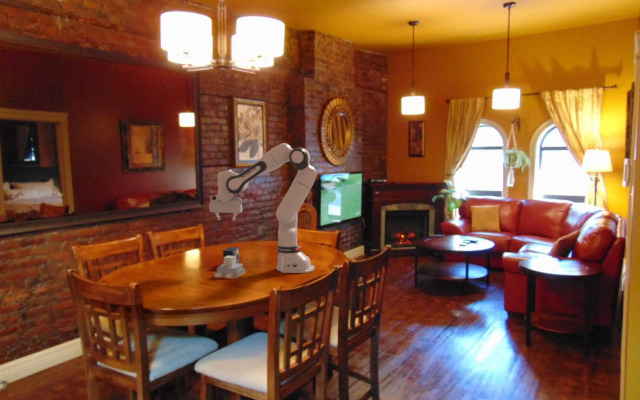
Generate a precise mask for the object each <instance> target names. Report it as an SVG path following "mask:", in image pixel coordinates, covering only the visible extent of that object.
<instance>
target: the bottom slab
mask: <svg viewBox="0 0 640 400" xmlns="http://www.w3.org/2000/svg"><path fill="white" fill-rule="evenodd" d="M245 273H246V268H244V267H243V269H242V270H240V271H239V272H238V273H236V274H228V273H217V271H215V272H214V273H213V277H214V278H222V279H223V278H224V279H237V278H239V277H240V276H242V275H244V274H245Z"/></svg>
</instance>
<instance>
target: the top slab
mask: <svg viewBox="0 0 640 400" xmlns="http://www.w3.org/2000/svg"><path fill="white" fill-rule="evenodd" d="M243 266H244V265H243V263H241V262H239V263H236V265H234V266H233V267H227V266H224V264H223V263H222V264H221V265H219V266H217V268H216V272H217V273H228V274H236V273H238V272H239V271H240V270H242V269H243V268H244V267H243Z"/></svg>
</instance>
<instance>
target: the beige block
mask: <svg viewBox="0 0 640 400" xmlns="http://www.w3.org/2000/svg"><path fill="white" fill-rule="evenodd" d="M234 265H236V256H226V257H224V266H227V267H233V266H234Z"/></svg>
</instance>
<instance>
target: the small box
mask: <svg viewBox="0 0 640 400" xmlns="http://www.w3.org/2000/svg"><path fill="white" fill-rule="evenodd" d="M239 249H240V248H239V247H234V246H229V247H227V248H225V249H224V250H222V258H223V260H222V261H223V262H222V264H224V257H226V256H236V263H240V255H239V254H240V252H239V251H240V250H239Z"/></svg>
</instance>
